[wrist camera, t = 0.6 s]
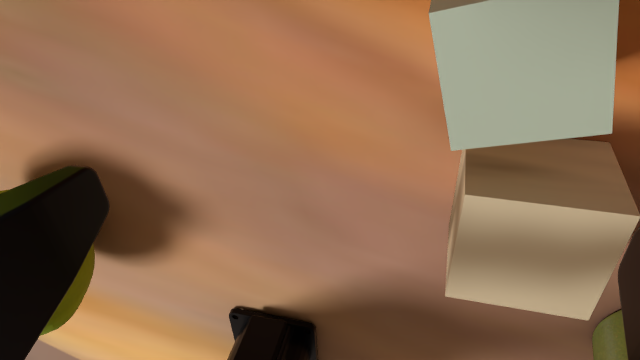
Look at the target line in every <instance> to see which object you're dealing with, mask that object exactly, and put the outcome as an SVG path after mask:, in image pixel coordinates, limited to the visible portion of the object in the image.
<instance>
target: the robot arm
mask: <svg viewBox="0 0 640 360" xmlns="http://www.w3.org/2000/svg"><path fill="white" fill-rule="evenodd" d="M108 211H109V201H108V198H107V196H106V193H105V191H104V189H103V186H102V184H101V182H100V179H99V177H98V175H97V173H96V171H95V170H94V169H93V168H90V167H85V166H76V165H71V166H67V167H64V168H62V169H60V170H57V171H55V172H52V173H50V174H47V175H45V176H42V177H40V178H37V179H35V180H32V181H30V182H28V183H25V184H23V185H20V186H18V187H15V188H13V189H10V190H8V191H5V192H3V193H1V194H0V360H25V358H26V356H27V355H28V353H29V352H30V350H31V349H32V347H33V345H34V344H35V342H36V341H37V339H38V338H39V336H40V334H41V333H42V331H43V330H44V328H45V326H46V325H47V323H48V322H49V320H50V319H51V317H52V315H53V314H54V312H55V311H56V309H57V307H58V306H59V304H60V303H61V301H62V300H63V298H64V296H65V295H66V293H67V292H68V290H69V288H70V287H71V285H72V283H73V282H74V280H75V278H76V276H77V274H78V272H79V270H80V268H81V266H82V264H83V262H84V260H85V258H86V256H87V254H88V252H89V250H90V248H91V246H92V244H93V242H94V240H95V238H96V237H97V235H98V233H99V231H100V229H101V227H102V225H103V223H104V221H105V219H106V217H107V214H108ZM618 285H619V293H620V301H621V309H622V317H623V325H624V332H625V340H626V348H627V356H628V360H640V227H639V228H638V229H637V230H636V231H635V233H634V235H633V237H632V239H631V241H630V244H629V246H628V248H627V250H626V252H625V254H624V257H623V259H622V261H621V263H620V266H619V270H618ZM229 319H230V323H231V327H232V331H233V335H234V339H235V343H234V345H233V348H232V350H231V352H230V354H229V357H228V359H227V360H318V353H317V337H316V327H315V326H314V325H313V324H312V323H308V322H303V321H298V320H293V319H288V318H282V317H277V316H272V315H267V314H262V313H257V312H251V311H246V310H241V309H235V308H234V309H232V310H231V311H230V313H229Z"/></svg>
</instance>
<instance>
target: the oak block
mask: <svg viewBox="0 0 640 360" xmlns="http://www.w3.org/2000/svg"><path fill="white" fill-rule="evenodd" d="M639 219H640V213H639V211H638V209H637V206H636V204H635V201H634V199H633V197H632V194H631V192H630V190H629V187H628V185H627V182H626V180H625V178H624V175H623V173H622V171H621V168H620V166H619V163H618V161H617V159H616V156H615V154H614V151H613V149H612V147H611V144H610V142H600V141H589V140H578V139H568V138H566V139H557V140H548V141H538V142H529V143H520V144H510V145H501V146H491V147H482V148H473V149H463V150H462V154H461V160H460V165H459V171H458V177H457V182H456V188H455V193H454V199H453V205H452V210H451V216H450V222H449V233H448V251H447V270H446V289H445V296H446V297H452V298H458V299H464V300H469V301H475V302H481V303H487V304H493V305H499V306H505V307H511V308H517V309H523V310H528V311H534V312H540V313H546V314H552V315H558V316H564V317H570V318H576V319H581V320H587V321H588V320H589V318H590V316H591V314H592V312H593V310H594V308H595V306H596V304H597V302H598V300H599V298H600V296H601V294H602V292H603V290H604V288H605V286H606V284H607V282H608V280H609V278H610V276H611V274H612V272H613V271H614V269H615V267H616V265H617V263H618V261H619V259H620V257H621V255H622V253H623V251H624V249H625V247H626V245H627V243H628V241H629V239H630V237H631V235H632V233H633V231H634V229H635V227H636V225H637V223H638V221H639Z"/></svg>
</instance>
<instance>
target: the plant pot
mask: <svg viewBox="0 0 640 360" xmlns="http://www.w3.org/2000/svg"><path fill="white" fill-rule="evenodd" d="M592 344H593V356H594V360H628V356H627V348H626V340H625V332H624V325H623V317H622V310H620V311H618V312H615V313H613V314H611V315H610V316H608V317H606V318H605V319H604V320H603V321H601V322H600V323H599V325H598V326H597V327H596V329H595V330H594V333H593V337H592Z"/></svg>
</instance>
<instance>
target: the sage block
mask: <svg viewBox="0 0 640 360" xmlns="http://www.w3.org/2000/svg"><path fill="white" fill-rule="evenodd" d="M618 13H619V0H431V5H430V9H429V18H430V24H431V30H432V36H433V42H434V48H435V55H436V61H437V67H438V73H439V79H440V85H441V91H442V97H443V103H444V110H445V116H446V122H447V128H448V134H449V140H450V146H451V151H454V150H463V149H473V148H482V147H491V146H501V145H510V144H520V143H529V142H538V141H548V140H557V139H566V138H576V137H585V136H594V135H604V134H612V126H613V107H614V88H615V69H616V50H617V31H618Z"/></svg>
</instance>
